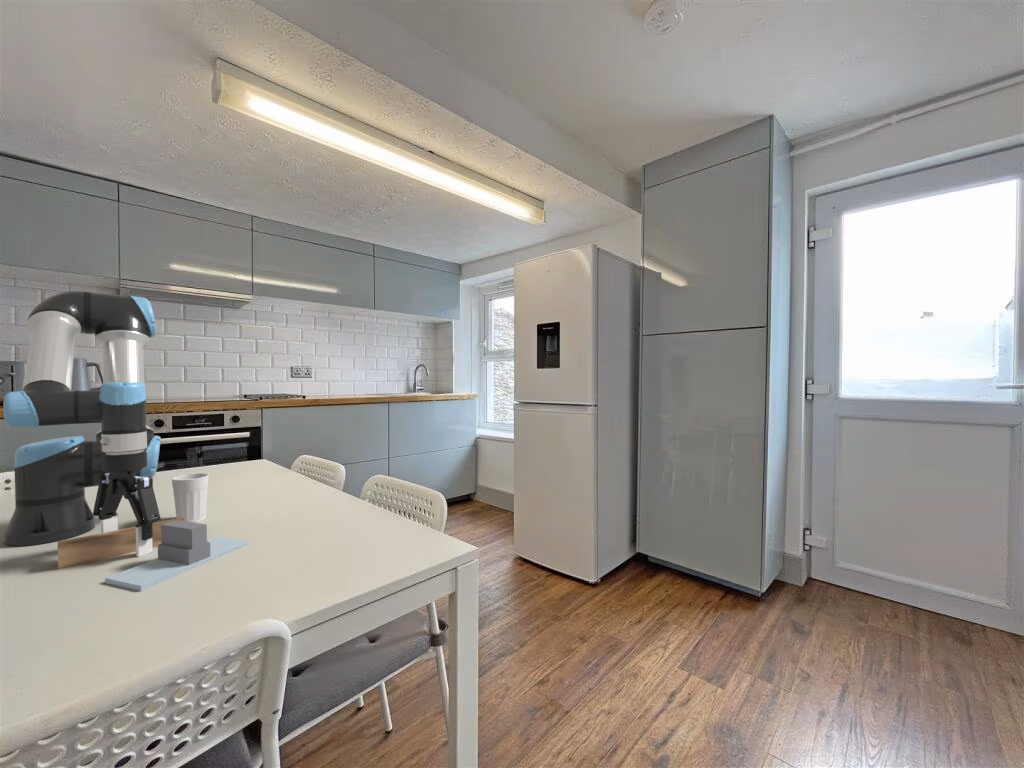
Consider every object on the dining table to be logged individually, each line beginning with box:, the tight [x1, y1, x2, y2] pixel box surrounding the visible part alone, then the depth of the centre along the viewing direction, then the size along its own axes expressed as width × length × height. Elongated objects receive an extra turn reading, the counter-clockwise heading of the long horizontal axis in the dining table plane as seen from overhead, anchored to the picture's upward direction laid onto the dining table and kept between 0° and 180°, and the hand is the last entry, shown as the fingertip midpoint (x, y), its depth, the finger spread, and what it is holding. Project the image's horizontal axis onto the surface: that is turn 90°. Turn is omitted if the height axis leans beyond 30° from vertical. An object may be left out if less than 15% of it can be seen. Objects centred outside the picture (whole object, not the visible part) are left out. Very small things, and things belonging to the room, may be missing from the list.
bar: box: [57, 517, 187, 570], centre depth 96 cm, size 4×21×5 cm, turn 137°
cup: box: [171, 472, 210, 523], centre depth 116 cm, size 8×8×12 cm
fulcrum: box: [104, 520, 251, 592], centre depth 90 cm, size 10×22×8 cm, turn 162°
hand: (126, 550), depth 96 cm, fingers open, 11 cm apart
